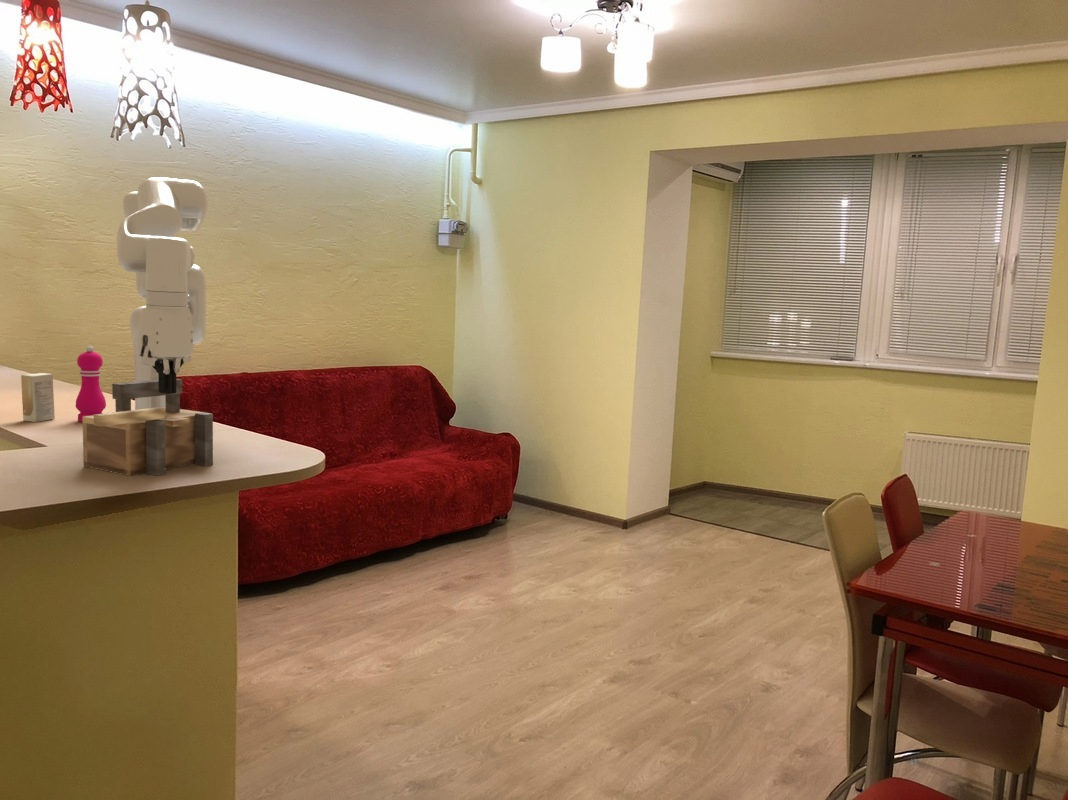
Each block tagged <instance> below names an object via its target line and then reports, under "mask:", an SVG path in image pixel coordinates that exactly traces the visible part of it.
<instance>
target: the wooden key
mask: <svg viewBox="0 0 1068 800" xmlns="http://www.w3.org/2000/svg"><path fill="white" fill-rule="evenodd" d="M163 418H165V408H160V407H156V408H147V409H139V410H135V409H131V410H130V411H121V412H116V411H114V412H106V413H105V412H104V413H103V414H95V415H94V426H101V427H102V426H109V425H117V424H125V423H133V422H140V421H148V420H156V419H163Z"/></svg>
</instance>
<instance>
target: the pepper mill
mask: <svg viewBox="0 0 1068 800" xmlns="http://www.w3.org/2000/svg"><path fill="white" fill-rule="evenodd" d="M85 347H86V348H85V350H86V351H85V352H84V351H83V352H81V353H80V354H79V355H78V357H77V359H76V361H77V362H76V363H77V366H78V367H79V369H80V370H79V376H81V386H80V390H79V392H78V395H77V396H76V400H75V408H76V410H78V412H79V414H77V421H78V422H79V423H83V417H84V416H93V415H95V414H104V413H102V412H103V411H104V410H105V409H106V407H107V402H106V398H105V396H104V394H103V391H102V389H101V385H100V376H101V375H102V373H101V370H100V368H102V366H103V363H104V361H103V357H102V356H101V354H99V353H98V352H95V351H94V347H93V346H92V345H88V346H85Z"/></svg>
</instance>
